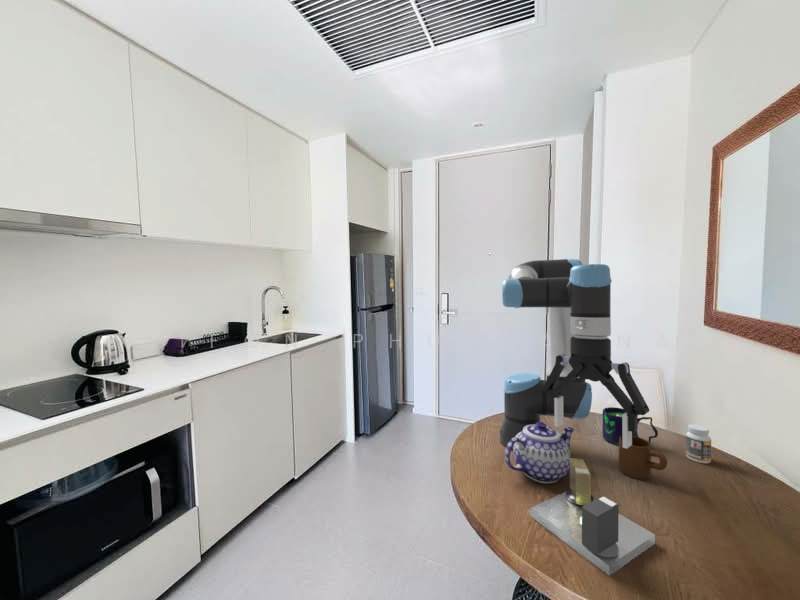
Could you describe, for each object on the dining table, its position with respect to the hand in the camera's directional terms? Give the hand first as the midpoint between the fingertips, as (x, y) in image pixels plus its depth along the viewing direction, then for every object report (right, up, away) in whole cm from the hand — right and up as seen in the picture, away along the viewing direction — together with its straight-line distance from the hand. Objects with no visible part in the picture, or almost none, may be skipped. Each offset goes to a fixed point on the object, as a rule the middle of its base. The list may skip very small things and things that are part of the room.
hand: (590, 435), depth 70 cm
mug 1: (+37, -20, +41) cm, 59 cm away
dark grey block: (-1, -20, -5) cm, 21 cm away
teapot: (0, -21, +24) cm, 32 cm away
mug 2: (+27, -21, +21) cm, 40 cm away
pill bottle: (+51, -20, +30) cm, 62 cm away
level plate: (+1, -22, +2) cm, 22 cm away
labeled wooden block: (+3, -20, +9) cm, 22 cm away
